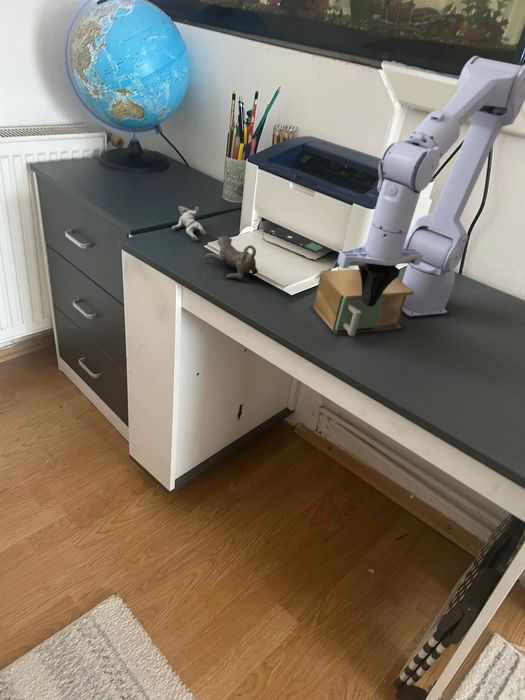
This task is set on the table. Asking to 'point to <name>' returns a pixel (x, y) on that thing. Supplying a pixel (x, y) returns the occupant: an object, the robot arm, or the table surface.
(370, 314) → the closet door
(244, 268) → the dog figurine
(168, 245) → the table surface
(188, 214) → the soldier figure
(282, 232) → the disk drive
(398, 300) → the closet
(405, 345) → the table surface
